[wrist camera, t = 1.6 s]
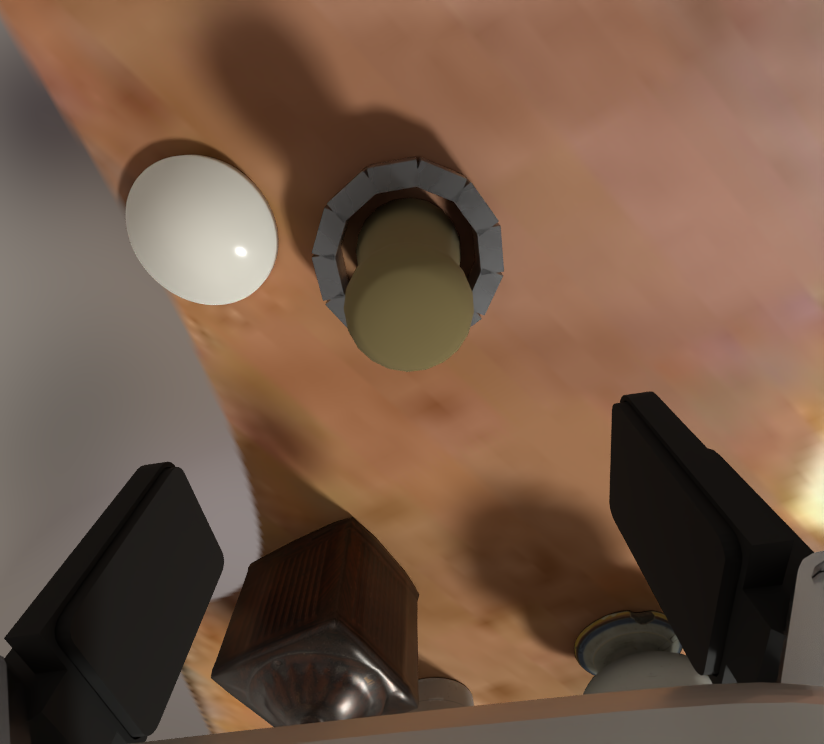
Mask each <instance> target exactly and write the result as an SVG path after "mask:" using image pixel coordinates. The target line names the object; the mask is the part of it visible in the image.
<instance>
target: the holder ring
mask: <svg viewBox="0 0 824 744" xmlns="http://www.w3.org/2000/svg"><path fill="white" fill-rule="evenodd" d="M411 187H418V188H421V189H423V190H426V191H428V192H431V193H433V194H436V195H438V196H441V197H443V198H446V199H448V200H451V201H453V202H454V203H455V204H456V205H457V207H458V208H459V209H460V211H461V212H462V213H463V215H464V216H465V217H466V219H467V220H468V222H469V223H470V224H471V226H472V232H473V242H474V252H475V261H474V264H473V266H472V268H471V271H470V273H469V275H468V277H467V281H468V283H469V285H470V288H471V290H472V292H473V305H474V314H473V318H472V322H471V326H472V325H474V324H475V323H476V322H478V321H479V320H481V316H480V314H482V315H485V313H486V311H487V309H488V307H489V305H490V302H491V300H492V298H493V296H494V294H495V292H496V290H497V288H498V286H499V283H500V281H501V279H502V277H503V275H502V273H501V272H503V271H504V265H503V252H502V239H501V226H500V225H499V224H498V222H499V221H498V219H497V218H496V217H495V215H494V214H493V212H492V211H491V210H490V208H489V207H488V205H487V204H486V203H485V201H484V200H483V198H482V197H481V196H480V194H479V193H478V191H477V190H476V188H475V187H474V186H473V184H472V183H471V182H470V181H469V180H468V179H467V178H466V177H464V176H463V175H462V174H460V173H458V172H456V171H453V170H451V169H448V168H446V167H443V166H441V165H439V164H436V163H434V162H431V161H429V160H427V159H424V158H422V157H420V159H419V161H418V164H417V162H416V156H415V157H409V158H404V159H398V160H393V161H387V162H382V163H376V164H371V165H370V166H369V167H368V168H367V167H366V168H364V169H363V170H362V171H361V172H360V173H359V174H358V175H357V176H356V177H355V178H354V179H353V180H351V181H350V182H349V183H348V184H347V185H346V186H345V187H344V188H343V189H342V190H341V191H340V192H338V193H337V194H336V195H335V196H334V197H333V198H332V199H331V200H330V201H329V202H328V203H327V206H326V207H325V208H324V211H323V214H322V218H321V222H320V225H319V229H318V232H317V236H316V239H315V243H314V247H313V250H312V253H313V254H314V255H313V256H312V260H313V264H314V268H315V272H316V276H317V280H318V283H319V287H320V291H321V295H322V299H323V301H324V300H327V302H326V304H325V305H326V306H327V307H328V308H329V309H330V310H331V311H332V312H333V313H334V314H335V315H336V316H337V317H338V318H339V320H340V321H341V322H342V323H343V324H344V325H345V326H346V327H347V323H346V318H345V313H344V302H345V294H346V288H347V286H348V284H349V282H350V281H349V279H348V275H347V271H346V266H345V262H344V258H343V253H342V249H341V245H342V241H343V238H344V235H345V231H346V228H347V225H348V222H349V218H350V217H351V216H352V215H353V214H354V213H355V212H356V211H357V210H358V209H359V208H361V207H362V206H363V205H364V204H365V203H366V202H367V201H368V200H370V199H371V198H372V197H373V196H374V195H375V194H377V193H383V192H388V191H394V190H400V189H405V188H411ZM471 326H470V327H471Z"/></svg>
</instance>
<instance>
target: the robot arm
mask: <svg viewBox="0 0 824 744" xmlns="http://www.w3.org/2000/svg"><path fill="white" fill-rule="evenodd" d="M609 502H610V509H611V513H612V516H613V519H614V521H615V523H616V524H617V526H618V528H619V530H620V532H621V534H622V536H623V538H624V539H625V541H626V543H627V545H628V547H629V549H630V551H631V552H632V554H633V556H634V558H635V560H636V562H637V564H638V566H639V567H640V569H641V571H642V573H643V575H644V577H645V579H646V580H647V582H648V584H649V586H650V588H651V590H652V592H653V593H654V595H655V597H656V599H657V601H658V603H659V605H660V607H661V608H662V610H663V612H664V614H665V616H666V618H667V620H668V621H669V623H670V625H671V627H672V629H673V631H674V633H675V635H676V636H677V638H678V640H679V642H680V644H681V646H682V648H683V649H684V651H685V653H686V655H687V657H688V659H689V661H690V663H691V664H692V666H693V668H694V669H695V671H696V672H697V673H698V674H699V675H701V676H702V675H708V677H709V679H710V680H711V682H712V684H703V685H691V686H679V687H667V688H655V689H643V690H631V691H619V692H607V693H596V694H586V695H576V696H567V697H557V698H547V699H537V700H527V701H518V702H508V703H498V704H488V705H478V706H469V707H459V708H449V709H439V710H430V711H421V712H411V713H402V714H393V715H383V716H374V717H365V718H355V719H346V720H337V721H328V722H318V723H309V724H300V725H291V726H282V727H272V728H263V729H254V730H245V731H237V732H228V733H219V734H210V735H202V736H193V737H184V738H175V739H167V740H158V741H149V742H145V741H146V739H147V736H149V735H151V734H152V733H153V732H154V731H155V730H156V728H157V726H158V724H159V722H160V720H161V717H162V715H163V712H164V710H165V708H166V705H167V703H168V700H169V698H170V696H171V693H172V691H173V688H174V686H175V684H176V681H177V679H178V676H179V674H180V672H181V669H182V667H183V664H184V662H185V660H186V657H187V655H188V652H189V650H190V648H191V645H192V643H193V640H194V638H195V636H196V633H197V631H198V628H199V626H200V623H201V621H202V619H203V616H204V614H205V611H206V609H207V607H208V604H209V602H210V599H211V597H212V595H213V592H214V590H215V587H216V585H217V583H218V580H219V578H220V575H221V573H222V570H223V565H224V557H223V553H222V551H221V549H220V546H219V545H218V542H217V540H216V538H215V536H214V534H213V532H212V530H211V528H210V526H209V523H208V522H207V519H206V517H205V515H204V513H203V511H202V509H201V507H200V505H199V503H198V501H197V498H196V496H195V494H194V492H193V490H192V488H191V486H190V484H189V482H188V480H187V478H186V475H185V473H184V472H183V470H182V469H181V468H179V467H175V465H174V464H172V463H171V462H163V463H156V464H149V465H144V466H141V467H140V468H138V469H137V471H136V472H135V473H134V474H133V476H132V477H131V478H130V480H129V481H128V482H127V483H126V485H125V486H124V487H123V488H122V490H121V491H120V492H119V493H118V495H117V496H116V497H115V498H114V500H113V501H112V502H111V504H110V505H109V506H108V507H107V509H106V510H105V511H104V512H103V514H102V515H101V516H100V518H99V519H98V520H97V521H96V523H95V524H94V525H93V526H92V528H91V529H90V530H89V531H88V533H87V534H86V535H85V536H84V538H83V539H82V540H81V542H80V543H79V544H78V545H77V547H76V548H75V549H74V550H73V552H72V553H71V554H70V555H69V557H68V558H67V559H66V561H65V562H64V563H63V564H62V566H61V567H60V568H59V569H58V571H57V572H56V573H55V574H54V576H53V577H52V578H51V580H50V581H49V582H48V583H47V585H46V586H45V587H44V589H43V590H42V591H41V592H40V593H39V595H38V596H37V597H36V599H35V600H34V601H33V602H32V604H31V605H30V606H29V607H28V609H27V610H26V611H25V613H24V614H23V615H22V616H21V618H20V619H19V620H18V621H17V623H16V624H15V625H14V627H13V628H12V629H11V630H10V632H9V633H8V634H7V635H6V637H5V638H4V639H5V640H6V641H7V642H8V643H9V644H10V646H11V647H12V649H11V651H10V652H9V653H8V655H7V656H6V657H5V658H4V657H2V656H0V744H824V551H821V552H816V553H814V552H813V551H812V550H811V549H810V548H809V547H808V546H807V545H806V544H805V543H804V542H803V541H802V540H801V538H800V537H799V536H798V535H797V534H796V533H795V532H794V531H793V530H792V529H791V528H790V527H789V526H788V525H787V524H786V523H785V522H784V521H783V520H782V519H781V518H780V517H779V516H778V515H777V514H776V513H775V512H774V511H773V510H772V509H771V507H770V506H769V505H768V504H767V503H766V502H765V501H764V500H763V499H762V498H761V497H760V496H759V495H758V494H757V493H756V492H755V491H754V490H753V489H752V488H751V487H750V486H749V485H748V484H747V483H746V482H745V481H744V480H743V479H742V478H741V477H740V475H739V474H738V473H737V472H736V471H735V470H734V469H733V468H732V467H731V466H730V465H729V464H728V463H727V462H726V461H725V460H724V459H723V458H722V457H721V456H720V455H719V454H718V453H716V452H715V451H714V450H711V449H708V448H707V447H706V446H705V445H704V444H703V443H702V442H701V441H700V440H699V439H698V438H697V437H696V436H695V435H694V434H693V433H692V432H691V431H690V430H689V429H688V427H687V426H686V425H685V424H684V423H683V422H682V421H681V420H680V419H679V418H678V417H677V416H676V415H675V414H674V413H673V412H672V411H671V410H670V409H669V407H668V406H667V405H666V404H665V403H664V402H663V401H662V400H661V399H660V398H659V397H658V396H657V395H656V394H655V393H654V392H643V393H636V394H629V395H623V396H622V397H621V400H620V403H616V404H614V405H613V407H612V430H611V465H610V499H609Z"/></svg>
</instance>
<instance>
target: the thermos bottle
mask: <svg viewBox="0 0 824 744" xmlns="http://www.w3.org/2000/svg"><path fill="white" fill-rule="evenodd" d="M418 693H419V705H418V708H417V709H414V710H411V711H409V712H406V713H411V712H421V711H430V710H439V709H449V708H459V707H469V706H474V702H473V697H472V694H471V692H470V691H469V689H468V688H466V687H465V686H464V685H462V684H461V683H459V682H456V681H454V680H450V679H445V678H425V679H420V680H418Z"/></svg>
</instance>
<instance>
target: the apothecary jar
mask: <svg viewBox="0 0 824 744" xmlns="http://www.w3.org/2000/svg"><path fill="white" fill-rule="evenodd" d="M681 651H682V646H681V644H680V642H679V640H678V638H677V636H676V635H675V633H674V631H673V629H672V627H671V625H670V623H669V621H668V620H667V618H666V616H665V614H662V613H659V612H655V611H647V612H643V613H633V612H631V611H622V612H617V613H614V614H610V615H607V616H604V617H602V618H600V619H599V620H597V621H595V622H593V623H592V624H590V625H589V626H588V627H587V628H585V629H584V630H583V631H582V632H581V634H580V635H579V636H578V638H577V640H576V643H575V647H574V652H575V657H576V659H577V661H578V663H579V664H580V666H581V667H583V668H584V669H585V670H586V671H587V672H589V673H591V674H593V675H595V676H594V677H593V678H592V680H591V681H590V682H589V684H588V686H587V687H586V689H585V691H584V693H583V695H586V694H596V693H607V692H619V691H631V690H643V689H655V688H667V687H679V686H691V685H703V684H712V682H711V680H710V679H709V677H708V675H702V676H701V675H699V674H698V673H697V672H696V671H695V669H694V668H693V666H692V664H691V663H690V661H689V659H688V657H687V655H683V654H680V653H681Z"/></svg>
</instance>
